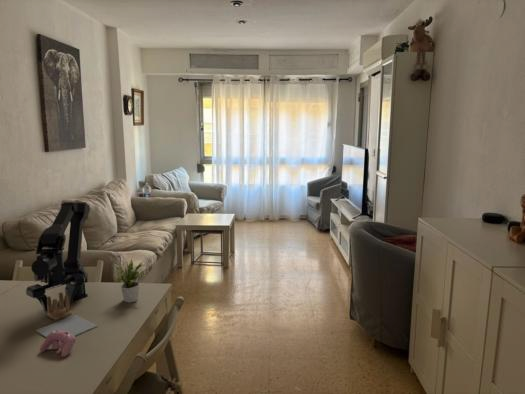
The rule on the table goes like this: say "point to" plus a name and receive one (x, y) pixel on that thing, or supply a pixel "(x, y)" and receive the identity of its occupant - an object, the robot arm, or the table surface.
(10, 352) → the table surface
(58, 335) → the video game controller
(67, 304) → the stool
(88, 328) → the mat
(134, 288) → the house plant
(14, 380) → the table surface
